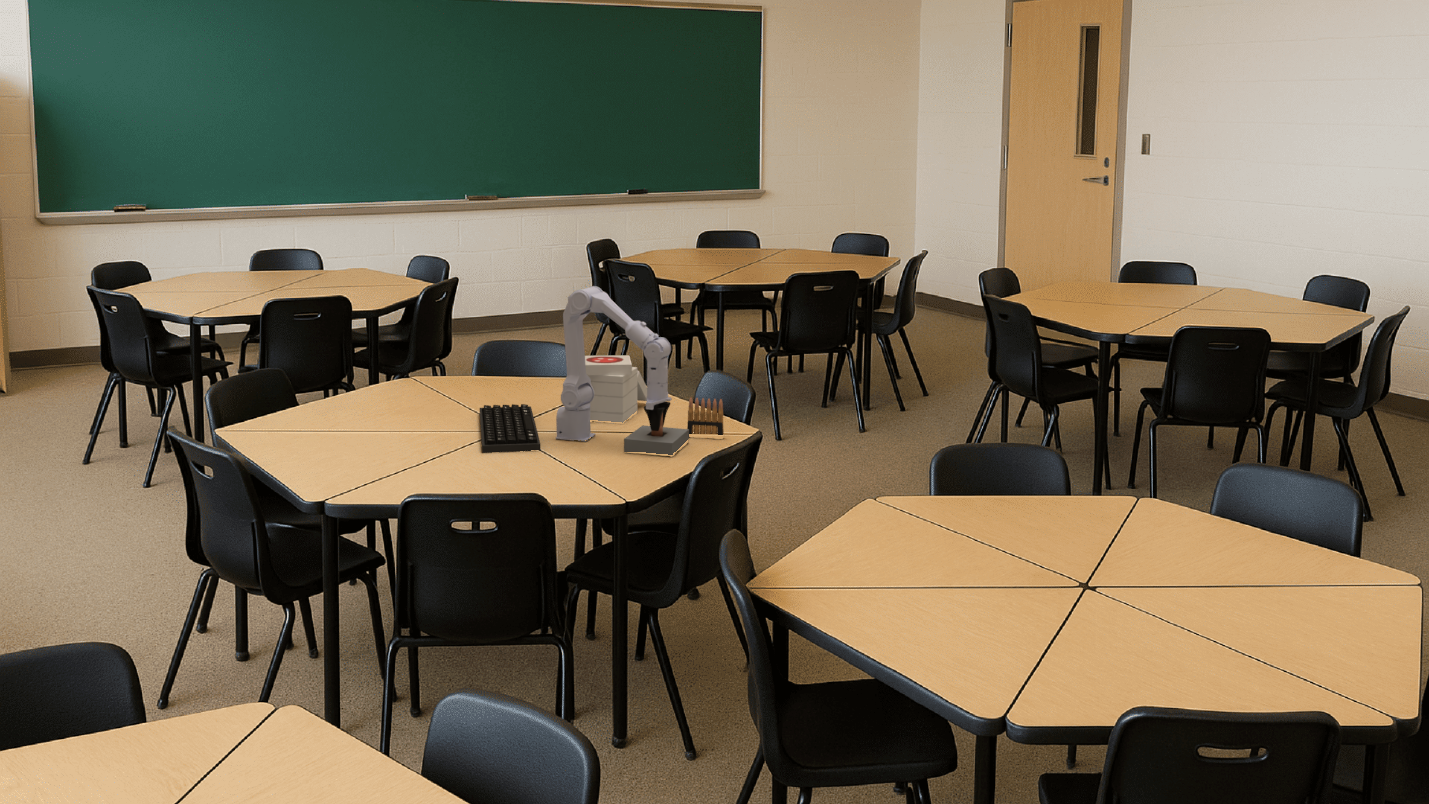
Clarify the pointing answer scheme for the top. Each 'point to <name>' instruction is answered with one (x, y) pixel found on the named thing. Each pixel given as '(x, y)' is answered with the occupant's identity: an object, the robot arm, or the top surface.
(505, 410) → the computer keyboard
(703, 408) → the ammunition clip
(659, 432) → the peg
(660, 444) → the socket block
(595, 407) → the pizza boxes
